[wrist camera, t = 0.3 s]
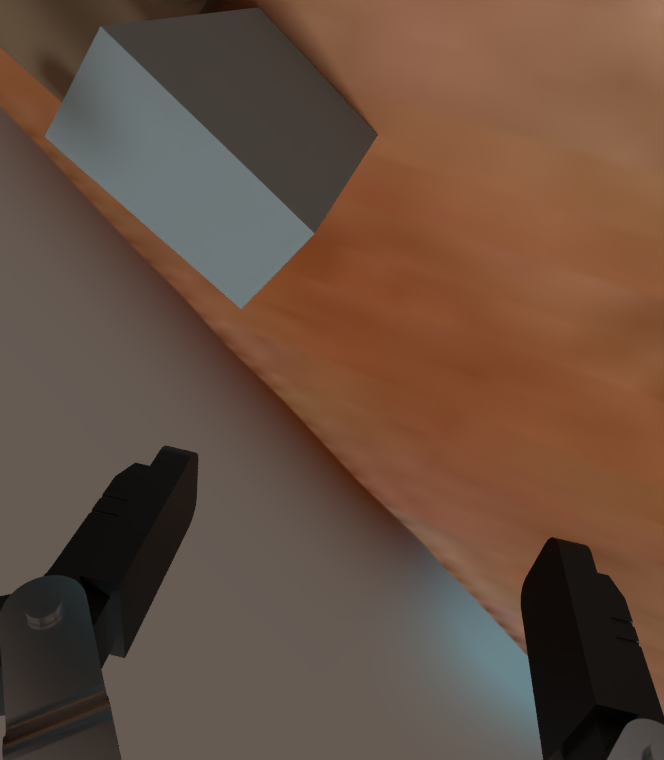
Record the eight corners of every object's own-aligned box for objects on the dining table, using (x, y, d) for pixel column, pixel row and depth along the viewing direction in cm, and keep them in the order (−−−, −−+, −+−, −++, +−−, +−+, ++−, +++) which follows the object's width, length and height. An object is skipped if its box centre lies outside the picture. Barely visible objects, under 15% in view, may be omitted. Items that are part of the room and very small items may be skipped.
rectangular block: (259, 7, 26) (100, 26, 15) (377, 134, 29) (314, 233, 17) (213, 76, 29) (44, 136, 17) (326, 190, 31) (241, 308, 20)
